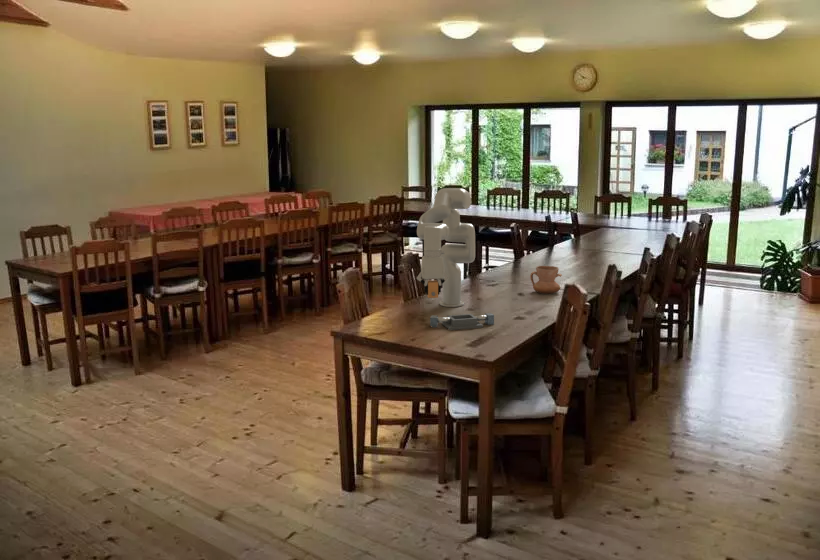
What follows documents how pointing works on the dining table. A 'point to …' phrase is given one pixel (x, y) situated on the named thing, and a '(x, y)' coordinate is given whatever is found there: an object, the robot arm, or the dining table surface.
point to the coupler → (432, 289)
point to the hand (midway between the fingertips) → (432, 293)
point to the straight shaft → (486, 318)
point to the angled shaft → (438, 320)
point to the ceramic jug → (546, 279)
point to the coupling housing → (462, 322)
